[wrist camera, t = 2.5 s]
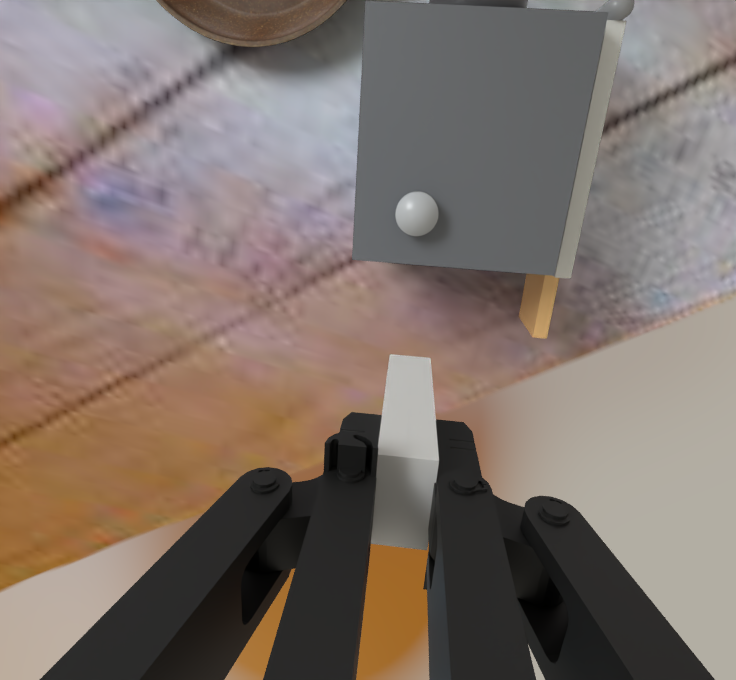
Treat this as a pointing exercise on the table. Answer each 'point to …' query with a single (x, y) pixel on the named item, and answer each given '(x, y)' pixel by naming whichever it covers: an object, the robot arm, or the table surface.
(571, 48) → the grey box with knob
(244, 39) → the saucer
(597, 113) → the light grey flat piece
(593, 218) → the table surface
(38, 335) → the table surface
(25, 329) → the table surface
